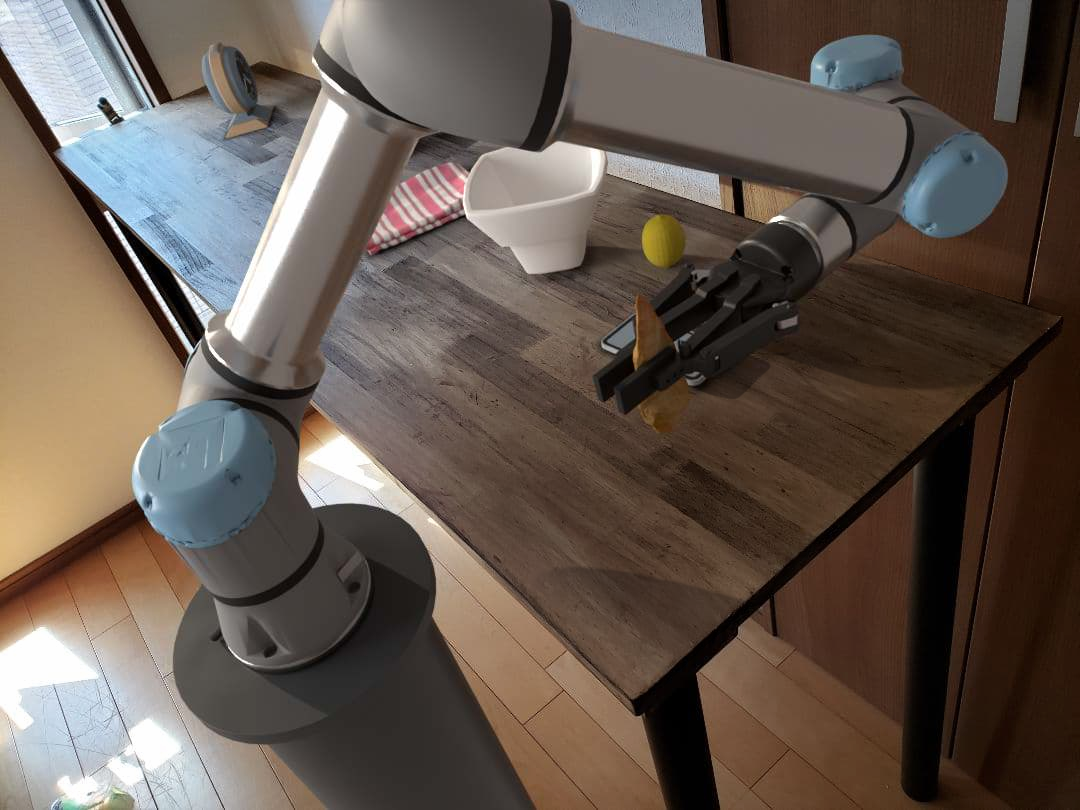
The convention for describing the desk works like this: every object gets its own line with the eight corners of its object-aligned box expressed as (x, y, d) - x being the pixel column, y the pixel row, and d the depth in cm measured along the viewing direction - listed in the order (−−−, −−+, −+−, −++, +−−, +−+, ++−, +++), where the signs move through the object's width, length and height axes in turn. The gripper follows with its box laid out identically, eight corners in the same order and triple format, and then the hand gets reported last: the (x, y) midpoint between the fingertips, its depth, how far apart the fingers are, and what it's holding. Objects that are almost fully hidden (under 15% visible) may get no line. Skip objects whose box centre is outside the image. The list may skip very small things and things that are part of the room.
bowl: (625, 287, 110) (607, 193, 101) (483, 309, 114) (454, 220, 105) (623, 215, 124) (607, 127, 115) (497, 236, 128) (472, 152, 119)
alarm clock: (267, 128, 187) (230, 49, 175) (225, 140, 187) (186, 61, 176) (273, 105, 198) (239, 29, 186) (234, 116, 198) (198, 41, 187)
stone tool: (677, 407, 79) (654, 274, 69) (696, 416, 77) (676, 282, 67) (640, 439, 77) (611, 307, 67) (659, 449, 75) (633, 316, 65)
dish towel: (339, 221, 144) (331, 203, 142) (460, 169, 149) (455, 151, 146) (367, 261, 132) (359, 242, 129) (498, 202, 136) (493, 183, 134)
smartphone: (637, 310, 105) (735, 347, 95) (638, 316, 105) (736, 353, 96) (597, 342, 102) (694, 384, 92) (598, 348, 102) (695, 390, 92)
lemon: (638, 273, 112) (629, 221, 107) (663, 252, 115) (655, 200, 109) (672, 283, 109) (664, 230, 104) (696, 261, 111) (690, 207, 106)
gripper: (858, 314, 76) (680, 466, 67) (730, 266, 86) (560, 393, 77) (860, 243, 71) (668, 398, 62) (723, 201, 81) (542, 329, 72)
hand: (609, 395), depth 70 cm, fingers closed on stone tool, 2 cm apart
